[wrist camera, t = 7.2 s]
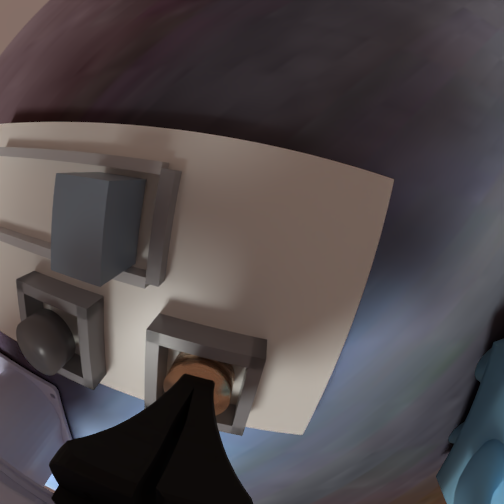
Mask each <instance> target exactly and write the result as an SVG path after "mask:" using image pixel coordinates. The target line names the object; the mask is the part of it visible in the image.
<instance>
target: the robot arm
mask: <svg viewBox="0 0 504 504" xmlns="http://www.w3.org/2000/svg"><path fill="white" fill-rule="evenodd" d="M214 386H215V382H214V381H213V380H209V379H204V378H200V377H197V376H193V375H189V374H186V373H185V374H183V375H182V376H181V377H180V379H179V380H178V381H177V382H176V383H175V384H174V385H173V386H172V387H171V388H170V389H169V390H168V391H167V392H165V393H164V394H163V395H162V396H161V397H160V398H159V399H157V400H156V401H155V402H154V403H152V404H151V405H150V406H148V407H147V408H146V409H144V410H143V411H141V412H140V413H138V414H137V415H135V416H133V417H131V418H130V419H128V420H126V421H124V422H122V423H120V424H118V425H116V426H114V427H112V428H109V429H107V430H104V431H101V432H98V433H96V434H93V435H89V436H86V437H81V438H77V439H73V440H72V437H71V434H70V431H69V428H68V424H67V421H66V418H65V414H64V411H63V407H62V403H61V399H60V395H59V391H58V389H57V388H56V387H55V386H54V385H52V384H51V383H49V382H47V381H45V380H43V379H42V378H40V377H38V376H36V375H35V374H33V373H31V372H30V371H28V370H26V369H25V368H23V367H21V366H20V365H18V364H17V363H15V362H14V361H12V360H11V359H9V358H7V357H6V356H4V355H3V354H2V353H0V504H253V502H252V499H251V497H250V496H249V494H248V493H247V492H246V490H245V489H244V487H243V486H242V484H241V482H240V481H239V479H238V477H237V475H236V474H235V472H234V470H233V468H232V466H231V463H230V461H229V459H228V457H227V455H226V452H225V449H224V447H223V444H222V441H221V438H220V434H219V430H218V426H217V421H216V415H215V408H214ZM51 474H53V476H54V477H55V479H56V481H57V482H58V484H59V486H58V488H57V489H56V491H55V493H52V492H50V491H49V490H47V489H46V488H44V487H43V486H44V485H45V483H46V482H47V480H48V479H49V477H50V476H51Z"/></svg>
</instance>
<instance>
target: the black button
mask: <svg viewBox="0 0 504 504" xmlns="http://www.w3.org/2000/svg"><path fill="white" fill-rule="evenodd" d="M16 337H17V342H18V345H19V347H20V349H21V351H22V353H23V355H24V356H25V358H26V359H27V361H28V362H29V363H30V364H31V365H32V366H33V367H34V368H35V369H36V370H38V371H39V372H41V373H43V374H45V375H54V374H56V373H57V372H58V371H59V370H60V369H61V368H62V367H63V366H64V365H65V364H66V363H67V362H68V361H69V360H70V359H71V358H72V357H73V356H74V354H75V349H76V346H75V340H74V337H73V334H72V332H71V330H70V328H69V327H68V325H67V324H66V322H65V321H64V320H63V319H62V318H61V317H60V316H59V315H58V314H57V313H55V312H54V311H52V310H50V309H45V308H43V309H40V310H38V311H37V312H35V313H34V314H32V315H31V316H29V317H28V318H26V319H25V320H23V321H22V322H20V323H19V324H18V326H17V329H16Z"/></svg>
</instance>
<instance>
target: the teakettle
mask: <svg viewBox="0 0 504 504" xmlns="http://www.w3.org/2000/svg"><path fill="white" fill-rule="evenodd" d="M475 378H476V379H477V380H478V381H479V382H480V386H479V389H478V391H477V394H476V396H475V399H474V401H473V404H472V406H471V409H470V411H469V413H468V416H467V418H466V420H465V422H463V423H462V424H460V425H459V426H458V427H457V428H456V429H454V431H453V432H452V433H451V434H450V436H449V439H448V441H449V442H450V443H453V444H454V445H453V447H452V449H451V451H450V453H449V454H448V456H447V458H446V460H445V462H444V463H443V465H442V467H441V469H440V470H439V472H438V474H437V475H436V478H437V480H438V483H439V485H440V488H441V490H442V492H443V495H444V497H445V500H446V503H447V504H504V339H501V340H498V341H495V342H493V346H492V348H491V349H489V350H488V351H487V352H486V353H485V354H484V355H483V357H482V358H481V359H480V361H479V363H478V364H477V367H476V370H475Z"/></svg>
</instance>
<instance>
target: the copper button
mask: <svg viewBox="0 0 504 504" xmlns="http://www.w3.org/2000/svg"><path fill="white" fill-rule="evenodd" d="M185 373H186V374H189V375H193V376H197V377H200V378H204V379H209V380H213V381H214V382H215V386H214V408H215V415H218V414H220V413H222V412H223V411H225V410H226V409H227V407H228V406H229V403H230V399H231V394H232V389H233V384H234V379H235V374H234V370H233V367H232V365H231V364H228V363H224V362H220V361H216V360H211V359H207V358H203V357H200V356H196V355H192V354H188V353H185V352H181V353H179V354H178V356H177V357H176V359H175V360H174V362H173V364H172V366H171V368H170V370H169V372H168V374H167V375H166V377H165V380H164V383H163V388H164V392H167V391H168V390H169V389H170V388H171V387H172V386H173V385H174V384H175V383H176V382H177V381H178V380H179V379H180V377H181V376H182V375H183V374H185Z"/></svg>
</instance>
